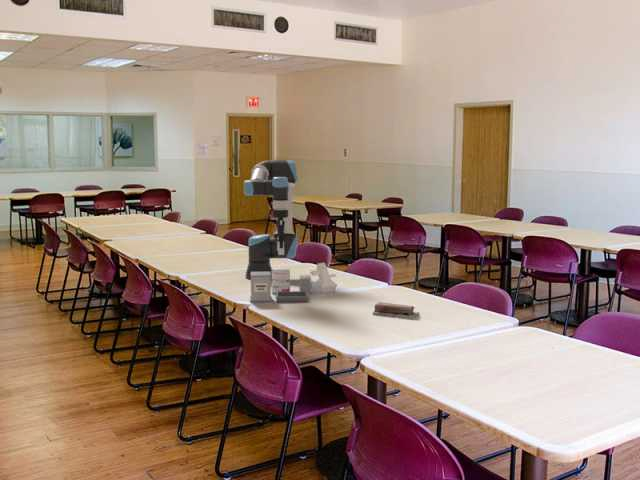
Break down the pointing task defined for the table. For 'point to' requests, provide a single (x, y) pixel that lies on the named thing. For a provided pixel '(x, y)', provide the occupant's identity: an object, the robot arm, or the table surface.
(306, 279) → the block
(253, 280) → the unit
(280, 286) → the ink box
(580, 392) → the table surface
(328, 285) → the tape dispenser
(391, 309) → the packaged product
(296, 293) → the tray
